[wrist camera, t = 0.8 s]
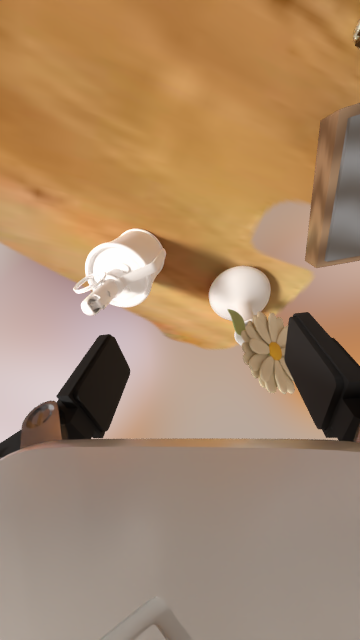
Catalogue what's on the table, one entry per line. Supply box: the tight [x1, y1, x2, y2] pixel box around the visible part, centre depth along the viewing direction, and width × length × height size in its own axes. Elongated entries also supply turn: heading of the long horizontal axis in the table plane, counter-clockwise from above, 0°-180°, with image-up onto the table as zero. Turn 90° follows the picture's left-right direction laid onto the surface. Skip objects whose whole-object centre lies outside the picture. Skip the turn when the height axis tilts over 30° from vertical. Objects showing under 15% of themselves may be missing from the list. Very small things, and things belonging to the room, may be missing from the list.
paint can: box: [73, 229, 166, 315], centre depth 27 cm, size 10×9×20 cm
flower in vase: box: [209, 266, 295, 394], centre depth 27 cm, size 13×11×25 cm
